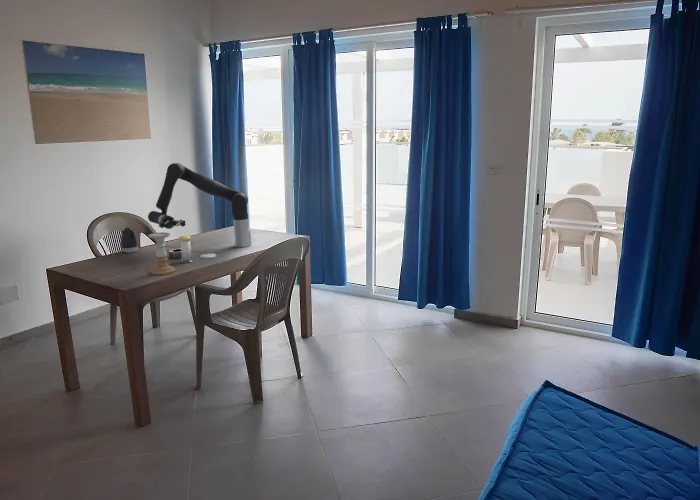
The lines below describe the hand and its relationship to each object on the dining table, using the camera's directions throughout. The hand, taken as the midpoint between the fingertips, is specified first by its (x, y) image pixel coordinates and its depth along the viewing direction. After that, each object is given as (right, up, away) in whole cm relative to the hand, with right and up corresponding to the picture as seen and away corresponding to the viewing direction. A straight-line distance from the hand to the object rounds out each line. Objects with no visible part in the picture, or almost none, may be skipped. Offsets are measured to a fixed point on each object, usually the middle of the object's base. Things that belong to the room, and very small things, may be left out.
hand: (176, 225), depth 302 cm
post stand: (+7, -20, -4) cm, 22 cm away
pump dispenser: (-35, -15, +20) cm, 43 cm away
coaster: (+16, -18, +7) cm, 25 cm away
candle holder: (+1, -26, -25) cm, 36 cm away
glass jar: (+7, -18, -5) cm, 20 cm away
